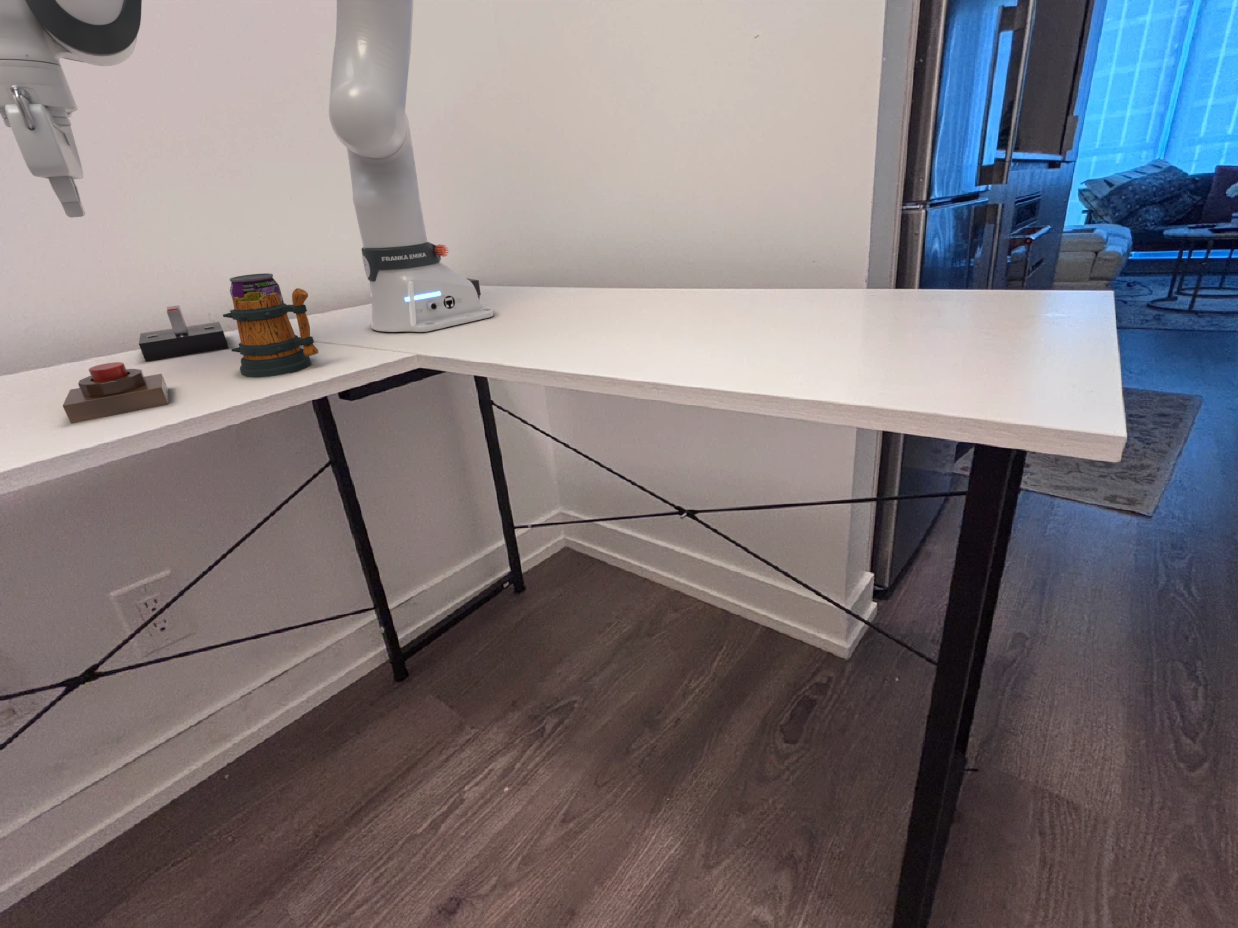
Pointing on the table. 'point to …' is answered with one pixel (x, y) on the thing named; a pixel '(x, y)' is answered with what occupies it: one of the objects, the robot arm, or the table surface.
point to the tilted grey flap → (177, 320)
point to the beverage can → (254, 285)
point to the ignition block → (115, 396)
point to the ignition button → (108, 371)
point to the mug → (271, 334)
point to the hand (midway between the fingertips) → (77, 216)
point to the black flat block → (182, 341)
